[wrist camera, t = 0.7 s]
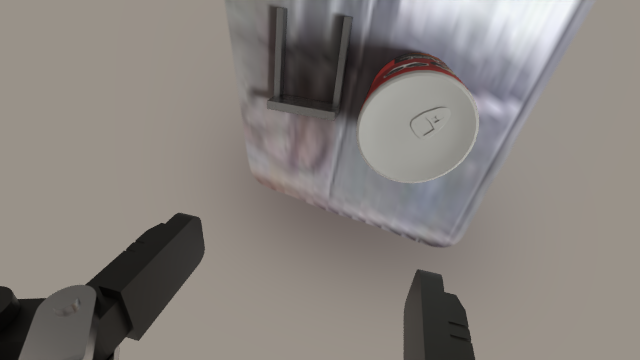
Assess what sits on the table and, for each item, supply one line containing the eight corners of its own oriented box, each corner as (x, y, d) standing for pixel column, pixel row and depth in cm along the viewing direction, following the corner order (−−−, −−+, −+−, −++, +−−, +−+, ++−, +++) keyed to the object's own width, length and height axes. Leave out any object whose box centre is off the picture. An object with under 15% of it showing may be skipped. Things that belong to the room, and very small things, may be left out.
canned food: (473, 84, 28) (509, 120, 19) (412, 148, 32) (417, 204, 23) (407, 32, 27) (410, 42, 18) (353, 104, 31) (333, 143, 22)
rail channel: (281, 7, 29) (269, 7, 26) (352, 17, 28) (348, 17, 25) (277, 101, 33) (266, 108, 30) (339, 112, 32) (333, 120, 30)
